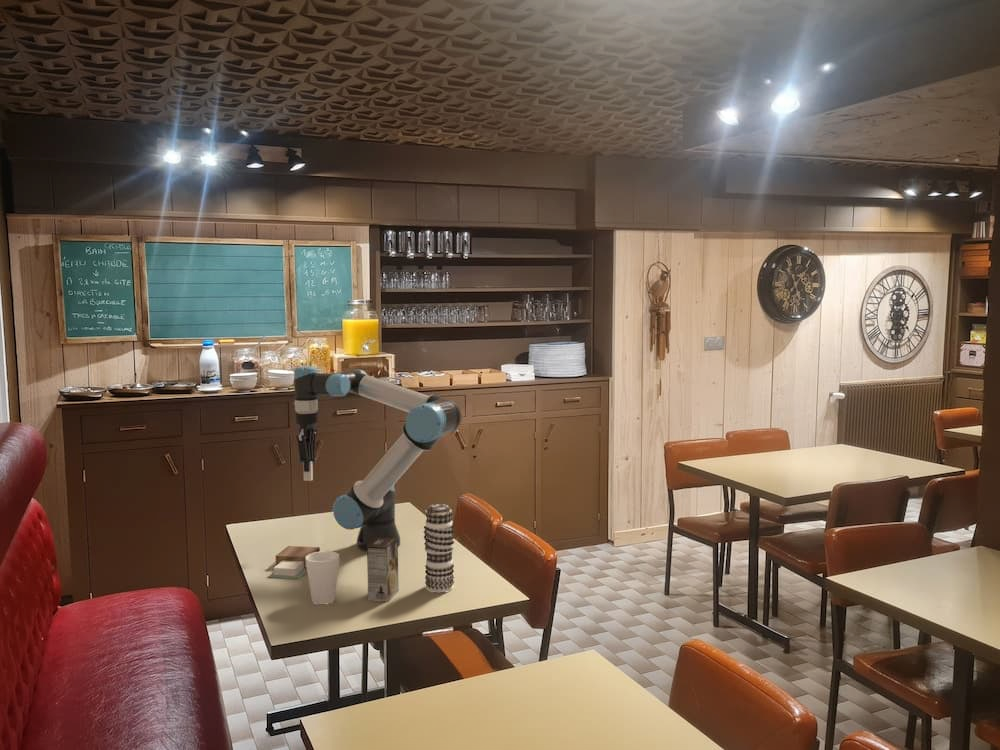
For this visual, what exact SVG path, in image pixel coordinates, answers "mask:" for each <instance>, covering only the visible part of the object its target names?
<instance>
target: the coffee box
mask: <svg viewBox="0 0 1000 750" xmlns="http://www.w3.org/2000/svg"><path fill="white" fill-rule="evenodd" d="M398 550H399V546H398V538H383V537H378V538H377V539H375V540H374V541H373V542H372V543H371V544H369V545H368V546H367V551H366V558H367V559H366V563H367V566H366V567H367V600H368V601H373V600H376V601H375V602H385V601H388V602H389V601H390V600H391V599H392V598H394V596H395V595H396V594H397V592H398V591H399V584H400V583H399V551H398ZM377 600H379V601H377Z"/></svg>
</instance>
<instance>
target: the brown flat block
mask: <svg viewBox="0 0 1000 750" xmlns="http://www.w3.org/2000/svg"><path fill="white" fill-rule="evenodd" d="M320 551H321V548H320V547H317V546H297V545H296V546H295V545H294V546H293V545H288V546H286V547H285V548H284V549H283V550H281V551H280V552H279V553H277V554H276V555H275V566H277V565H278V564H279V563H280V562H282V561H304V568H305V569H307V567H306V556H307V555H309V554H311V553H314V552H320Z"/></svg>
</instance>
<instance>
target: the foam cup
mask: <svg viewBox="0 0 1000 750" xmlns="http://www.w3.org/2000/svg"><path fill="white" fill-rule="evenodd" d="M339 565H340V554H339V553H338V552H335V551H330V550H325V551H322V550H320V552H314V553H311V554H309V555H307V556H306V567H307V573H306V574H307V577H308V584H309V589H310V590H309V591H310V595H311V597H310V598H311V602H313V603H312V604H314V603H316V604H315V605H317V604H325V605H327V604H326V603H330V604H332V603H334V600H335V599H336V593H337V581H338V573H339ZM331 602H332V603H331Z"/></svg>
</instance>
